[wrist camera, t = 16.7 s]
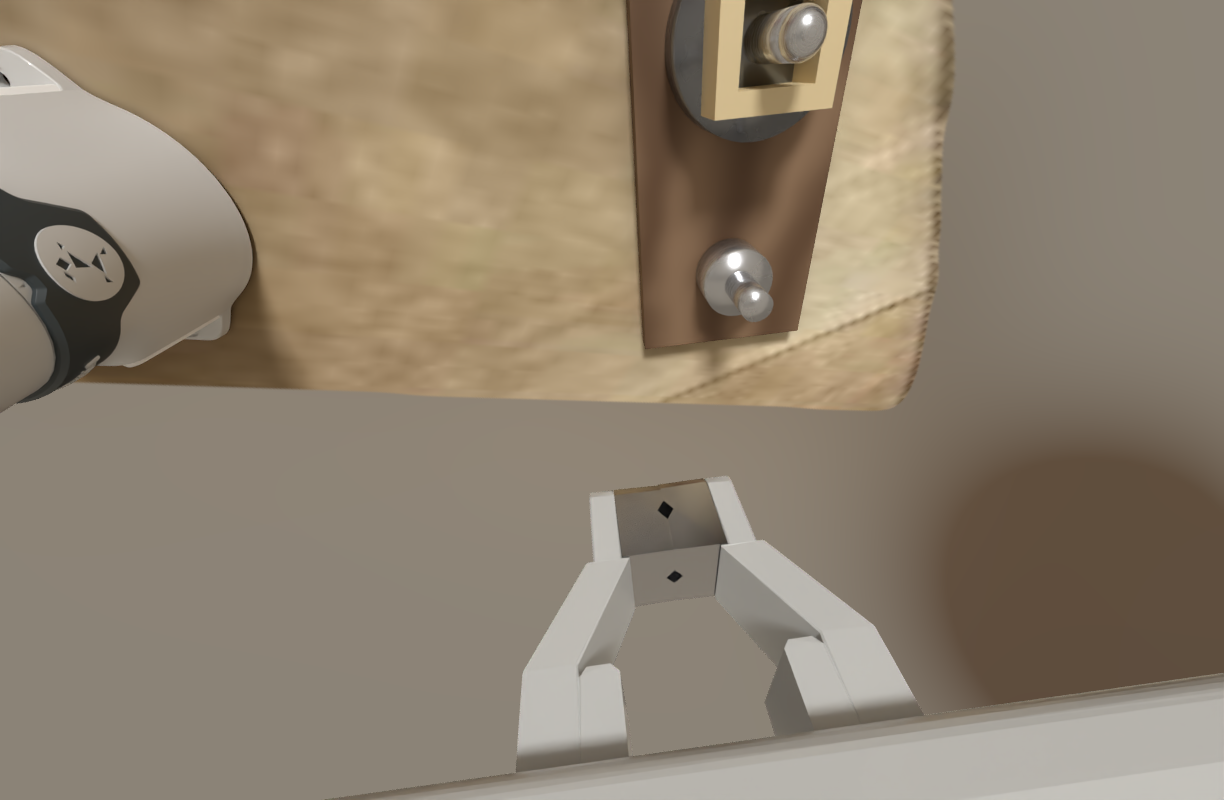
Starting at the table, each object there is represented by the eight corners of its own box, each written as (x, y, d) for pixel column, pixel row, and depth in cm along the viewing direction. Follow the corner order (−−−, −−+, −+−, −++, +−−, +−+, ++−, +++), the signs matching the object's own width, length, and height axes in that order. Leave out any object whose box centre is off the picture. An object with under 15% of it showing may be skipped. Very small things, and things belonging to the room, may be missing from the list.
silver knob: (694, 303, 37) (718, 344, 32) (696, 242, 34) (723, 276, 28) (754, 296, 37) (788, 336, 32) (762, 234, 34) (801, 266, 29)
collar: (700, 116, 26) (714, 120, 24) (705, -37, 22) (723, -50, 20) (807, 104, 26) (832, 107, 24) (832, -50, 22) (864, -64, 20)
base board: (643, 340, 41) (645, 349, 39) (621, -110, 24) (624, -119, 22) (790, 322, 41) (797, 330, 40) (874, -136, 24) (890, -146, 23)
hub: (665, 144, 30) (698, 168, 23) (663, -67, 24) (707, -126, 16) (809, 128, 30) (888, 146, 23) (844, -86, 24) (966, -153, 17)
